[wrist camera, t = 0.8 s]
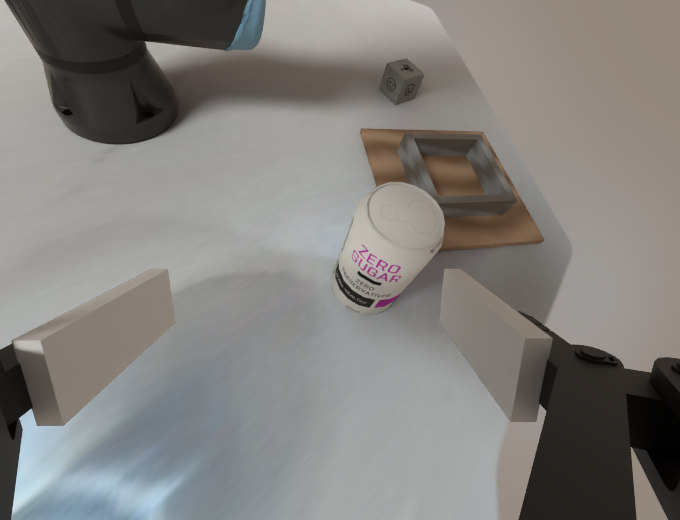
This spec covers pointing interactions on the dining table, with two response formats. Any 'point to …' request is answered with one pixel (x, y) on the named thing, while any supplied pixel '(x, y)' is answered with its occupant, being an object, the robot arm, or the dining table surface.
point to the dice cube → (401, 81)
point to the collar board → (455, 184)
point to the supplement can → (386, 246)
